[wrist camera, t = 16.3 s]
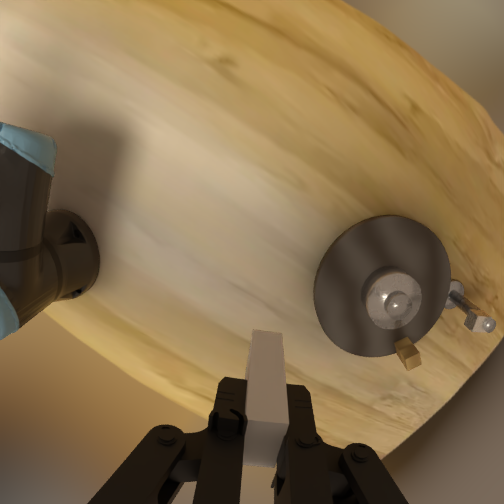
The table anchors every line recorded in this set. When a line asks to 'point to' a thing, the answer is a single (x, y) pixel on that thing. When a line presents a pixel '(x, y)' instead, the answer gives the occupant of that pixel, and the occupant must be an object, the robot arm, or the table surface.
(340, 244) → the turntable
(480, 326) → the dial post
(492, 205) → the table surface
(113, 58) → the table surface
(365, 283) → the cover
